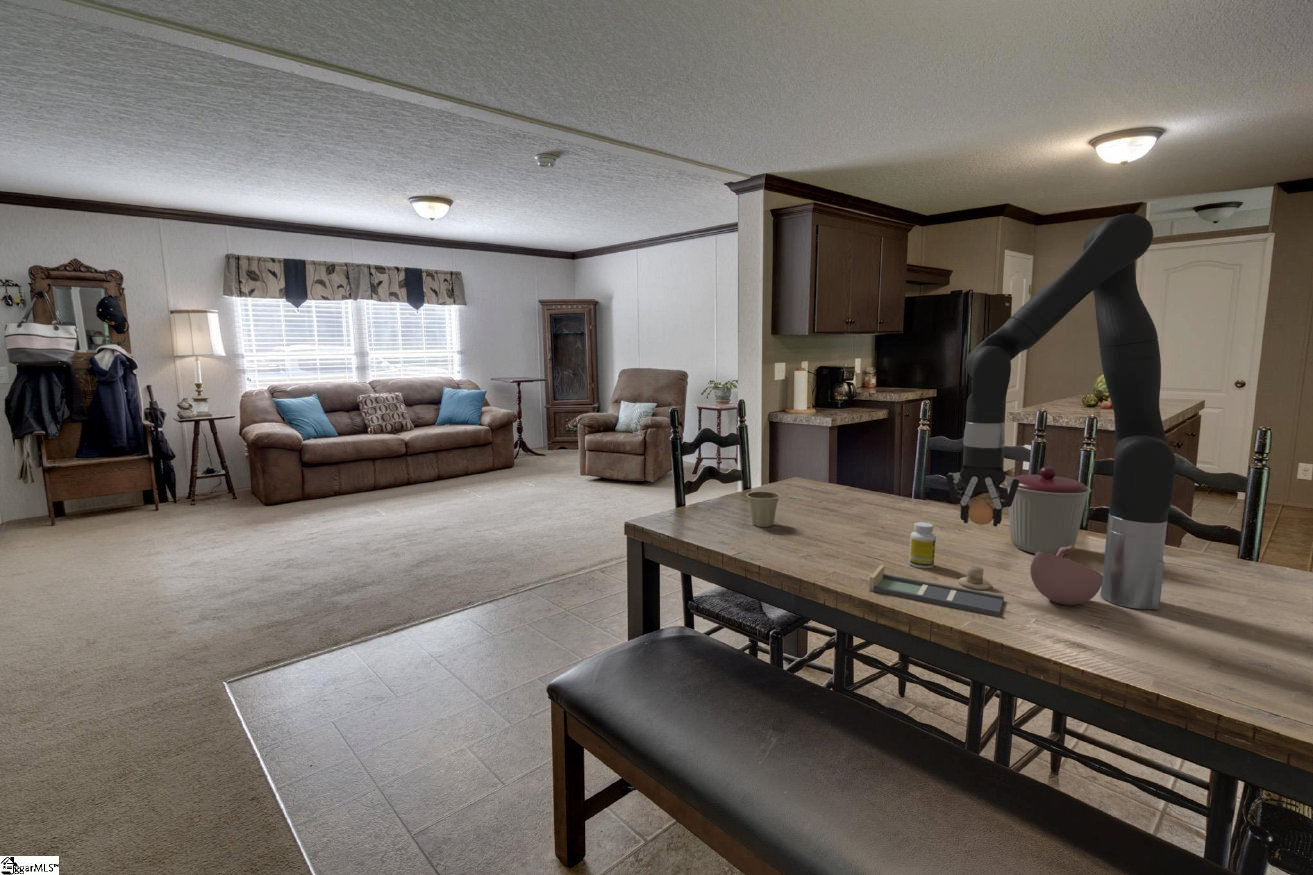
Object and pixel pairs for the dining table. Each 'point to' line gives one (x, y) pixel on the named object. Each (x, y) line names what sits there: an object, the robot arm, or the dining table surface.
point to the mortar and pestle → (1064, 578)
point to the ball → (981, 512)
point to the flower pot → (763, 507)
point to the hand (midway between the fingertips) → (980, 523)
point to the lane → (936, 593)
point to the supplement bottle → (922, 546)
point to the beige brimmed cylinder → (974, 579)
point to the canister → (1046, 512)
